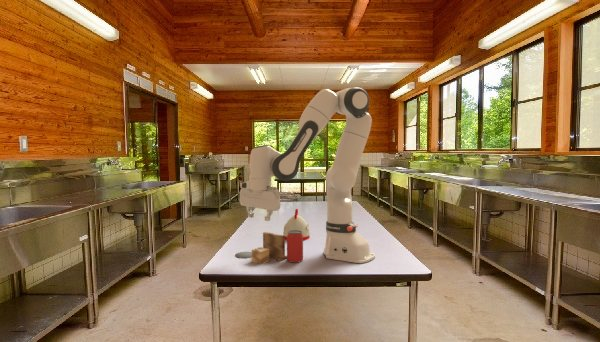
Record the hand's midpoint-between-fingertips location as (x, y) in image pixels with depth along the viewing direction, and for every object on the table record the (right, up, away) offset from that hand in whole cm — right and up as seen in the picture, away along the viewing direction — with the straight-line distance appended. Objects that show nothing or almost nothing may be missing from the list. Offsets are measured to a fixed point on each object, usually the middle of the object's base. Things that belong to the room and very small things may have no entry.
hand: (258, 219), depth 138 cm
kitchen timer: (+15, -16, +40) cm, 45 cm away
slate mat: (-7, -17, +9) cm, 20 cm away
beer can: (+15, -18, +2) cm, 23 cm away
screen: (+6, -17, +5) cm, 19 cm away
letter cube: (+1, -17, +1) cm, 17 cm away
